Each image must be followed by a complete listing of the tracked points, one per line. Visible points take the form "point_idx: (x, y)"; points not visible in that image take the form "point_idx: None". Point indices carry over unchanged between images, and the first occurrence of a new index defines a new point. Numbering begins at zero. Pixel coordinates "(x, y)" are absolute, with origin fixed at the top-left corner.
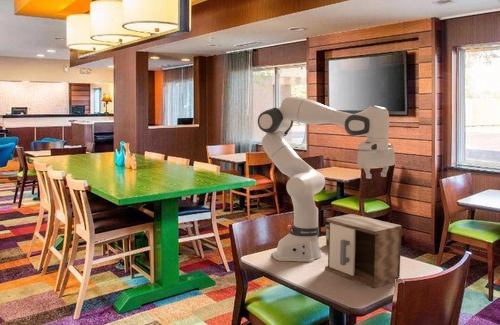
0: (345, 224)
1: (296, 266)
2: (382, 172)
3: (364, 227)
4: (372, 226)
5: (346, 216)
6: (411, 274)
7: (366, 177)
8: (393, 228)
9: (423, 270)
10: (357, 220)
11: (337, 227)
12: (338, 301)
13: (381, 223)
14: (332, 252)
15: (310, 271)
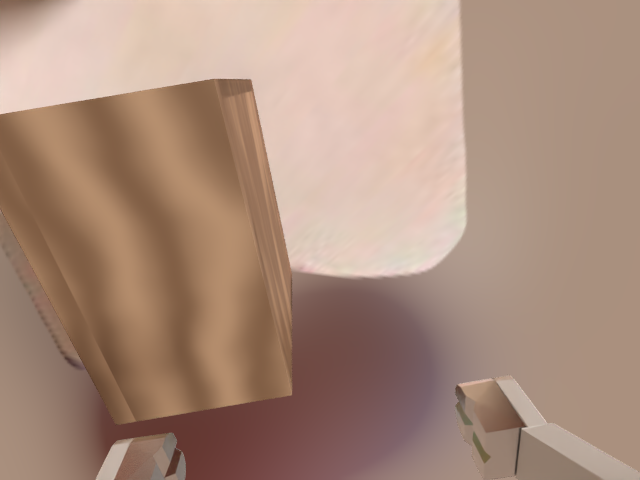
0: (41, 278)
1: (10, 13)
2: (490, 453)
3: (105, 366)
4: (154, 365)
5: (131, 134)
6: (351, 260)
7: (116, 452)
8: (238, 400)
9: (409, 250)
10: (146, 248)
11: None
12: (49, 322)
13: (232, 341)
14: None
15: (50, 96)
